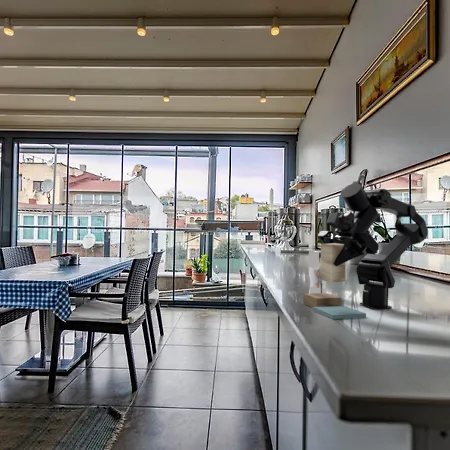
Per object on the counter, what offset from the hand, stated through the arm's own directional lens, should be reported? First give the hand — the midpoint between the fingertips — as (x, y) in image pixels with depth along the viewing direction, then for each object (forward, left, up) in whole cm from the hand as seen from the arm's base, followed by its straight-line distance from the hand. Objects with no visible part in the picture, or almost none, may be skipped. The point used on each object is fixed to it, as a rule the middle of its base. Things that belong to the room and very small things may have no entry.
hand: (328, 264), depth 94 cm
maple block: (-2, 0, -5) cm, 5 cm away
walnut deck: (-3, -7, -13) cm, 15 cm away
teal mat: (-2, +3, -13) cm, 13 cm away
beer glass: (-12, -23, -13) cm, 29 cm away
